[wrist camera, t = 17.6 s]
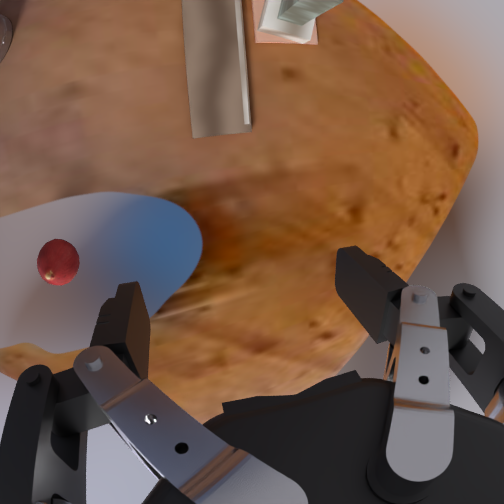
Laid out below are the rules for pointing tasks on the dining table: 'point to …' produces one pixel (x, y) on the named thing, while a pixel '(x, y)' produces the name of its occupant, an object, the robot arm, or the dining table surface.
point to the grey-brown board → (216, 67)
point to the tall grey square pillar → (292, 17)
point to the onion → (58, 262)
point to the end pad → (268, 38)
